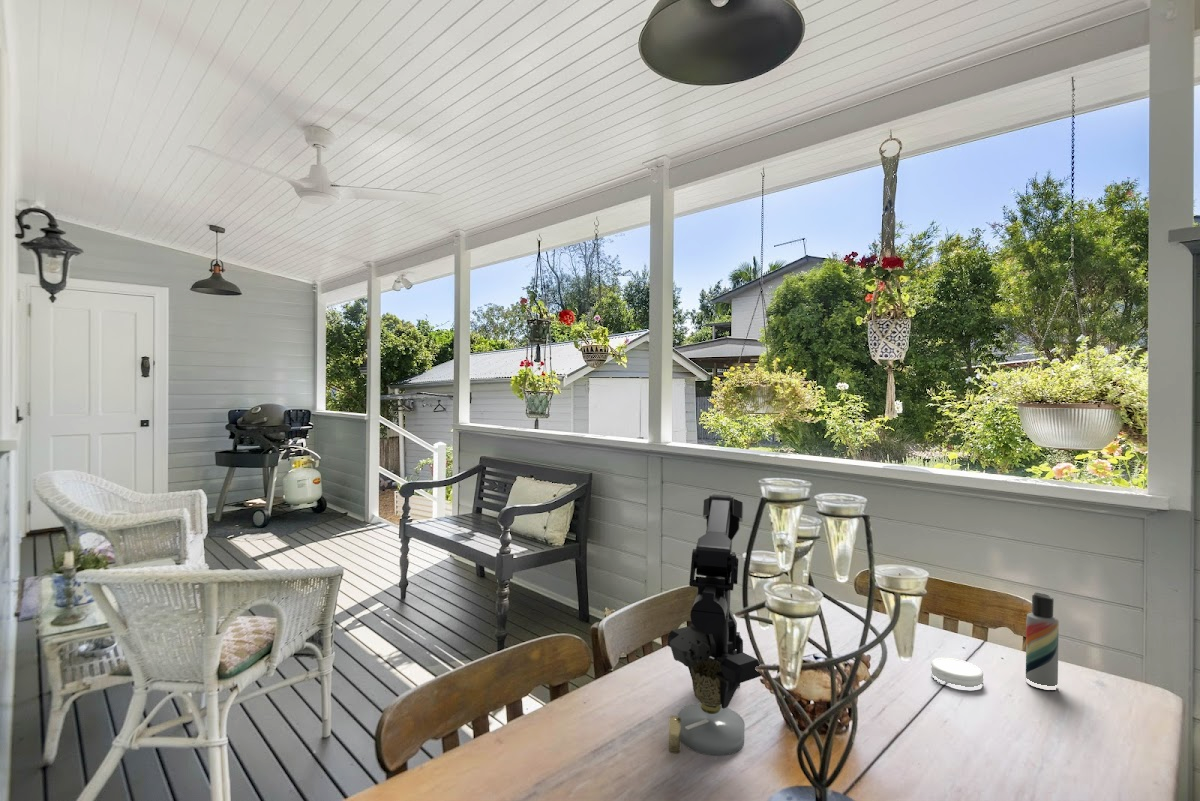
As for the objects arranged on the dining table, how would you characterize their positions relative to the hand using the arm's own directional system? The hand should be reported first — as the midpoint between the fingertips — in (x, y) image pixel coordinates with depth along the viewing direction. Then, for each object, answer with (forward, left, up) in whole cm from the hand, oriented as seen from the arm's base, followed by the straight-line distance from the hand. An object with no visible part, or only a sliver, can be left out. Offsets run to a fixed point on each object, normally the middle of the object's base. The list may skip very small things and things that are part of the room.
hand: (711, 699), depth 109 cm
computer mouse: (0, 0, -7) cm, 7 cm away
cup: (0, 0, -2) cm, 2 cm away
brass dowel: (+9, 0, -7) cm, 11 cm away
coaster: (-63, +12, -7) cm, 64 cm away
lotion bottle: (-77, +23, -7) cm, 81 cm away
